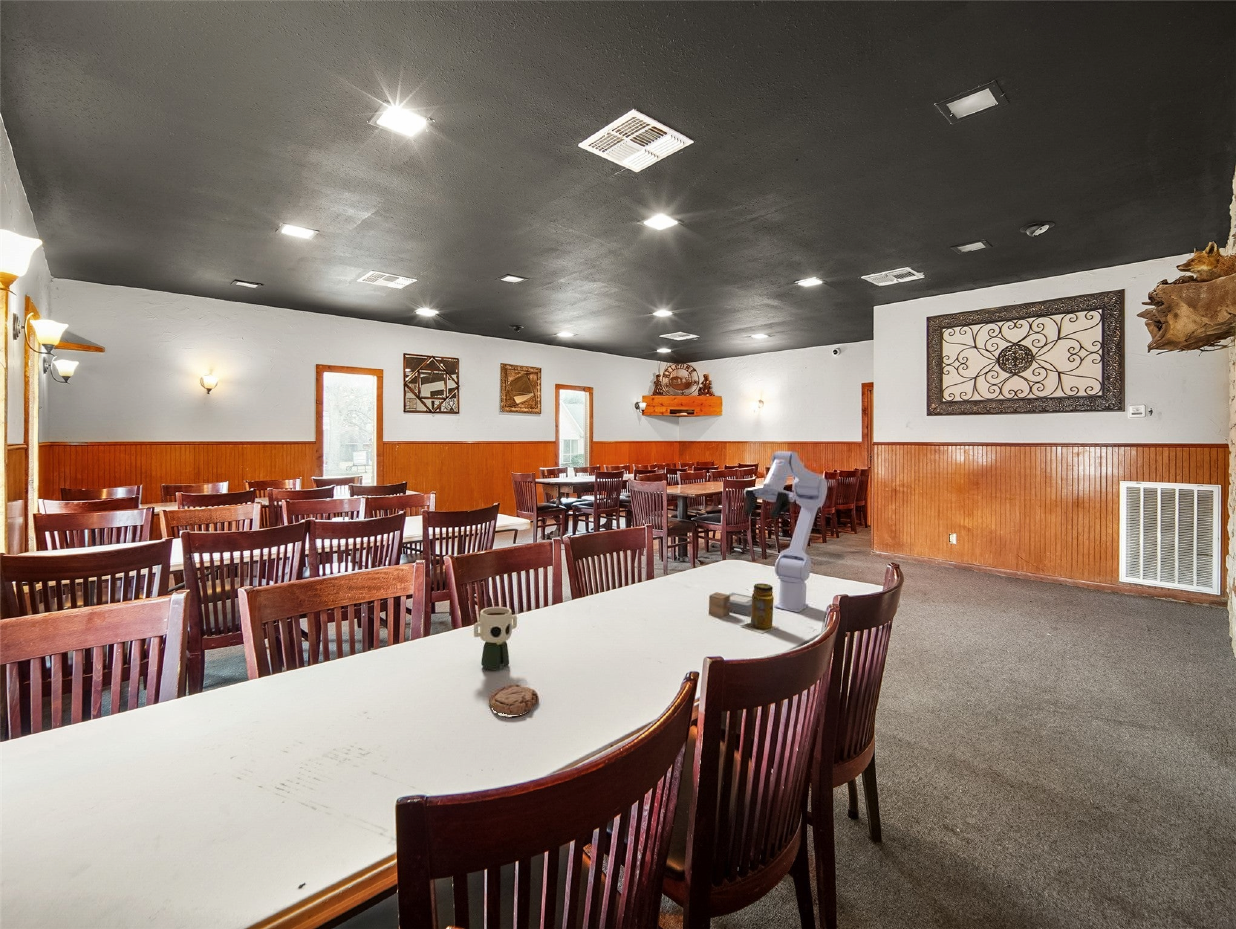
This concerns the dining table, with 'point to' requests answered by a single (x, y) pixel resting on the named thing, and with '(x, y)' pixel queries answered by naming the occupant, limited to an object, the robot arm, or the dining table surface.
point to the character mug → (495, 635)
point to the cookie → (513, 700)
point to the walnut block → (719, 604)
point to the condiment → (761, 609)
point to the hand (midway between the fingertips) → (759, 515)
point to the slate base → (740, 603)
